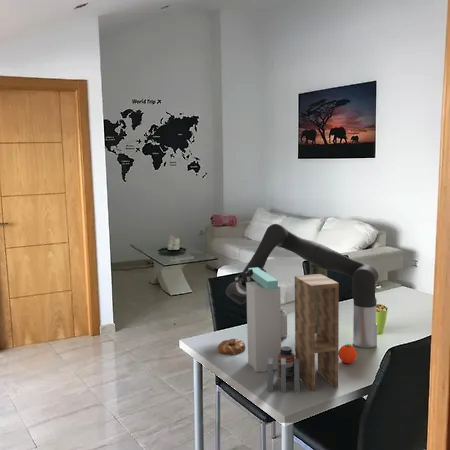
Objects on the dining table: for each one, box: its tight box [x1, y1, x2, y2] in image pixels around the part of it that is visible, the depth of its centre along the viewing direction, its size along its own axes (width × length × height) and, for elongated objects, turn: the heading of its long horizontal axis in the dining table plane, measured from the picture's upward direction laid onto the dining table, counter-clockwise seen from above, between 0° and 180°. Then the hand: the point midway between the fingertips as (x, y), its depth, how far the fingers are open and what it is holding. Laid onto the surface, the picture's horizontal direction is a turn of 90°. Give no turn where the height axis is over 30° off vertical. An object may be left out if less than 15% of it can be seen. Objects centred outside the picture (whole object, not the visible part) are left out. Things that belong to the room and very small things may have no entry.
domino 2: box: [280, 358, 287, 393], centre depth 174 cm, size 2×5×10 cm, turn 173°
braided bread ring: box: [217, 338, 246, 355], centre depth 210 cm, size 12×11×4 cm
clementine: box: [338, 343, 358, 364], centre depth 194 cm, size 8×7×7 cm
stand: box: [294, 274, 340, 392], centre depth 177 cm, size 14×10×37 cm
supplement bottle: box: [277, 345, 295, 382], centre depth 182 cm, size 6×6×11 cm
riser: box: [246, 281, 282, 373], centre depth 192 cm, size 10×10×32 cm
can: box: [281, 308, 288, 339], centre depth 224 cm, size 8×8×12 cm
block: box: [248, 267, 279, 290], centre depth 190 cm, size 22×4×3 cm, turn 15°
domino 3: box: [293, 359, 300, 394], centre depth 173 cm, size 2×5×10 cm, turn 173°
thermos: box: [309, 262, 328, 334], centre depth 229 cm, size 9×12×35 cm
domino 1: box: [267, 358, 274, 393], centre depth 174 cm, size 2×5×10 cm, turn 173°
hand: (257, 271), depth 195 cm, fingers closed on block, 4 cm apart
